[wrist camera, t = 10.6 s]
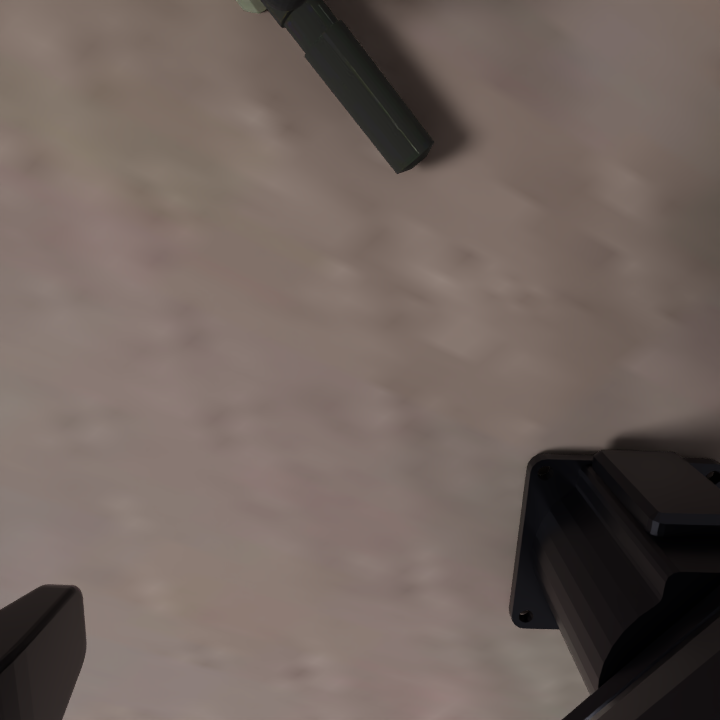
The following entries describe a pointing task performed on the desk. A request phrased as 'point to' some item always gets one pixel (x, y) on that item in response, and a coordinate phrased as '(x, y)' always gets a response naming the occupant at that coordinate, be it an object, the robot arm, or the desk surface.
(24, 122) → the desk surface
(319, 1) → the handheld radio
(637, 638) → the robot arm
